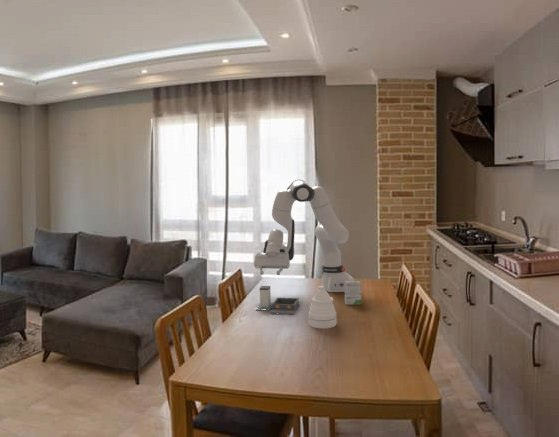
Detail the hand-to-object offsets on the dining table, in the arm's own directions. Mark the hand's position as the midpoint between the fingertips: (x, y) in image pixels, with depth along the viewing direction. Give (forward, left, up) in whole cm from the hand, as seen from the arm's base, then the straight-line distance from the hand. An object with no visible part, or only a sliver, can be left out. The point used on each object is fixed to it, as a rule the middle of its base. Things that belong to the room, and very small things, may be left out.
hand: (269, 274), depth 232 cm
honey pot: (-33, +31, -15) cm, 48 cm away
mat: (0, +10, -15) cm, 18 cm away
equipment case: (-11, +13, -15) cm, 23 cm away
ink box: (-45, -2, -15) cm, 47 cm away
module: (0, +10, -14) cm, 18 cm away
